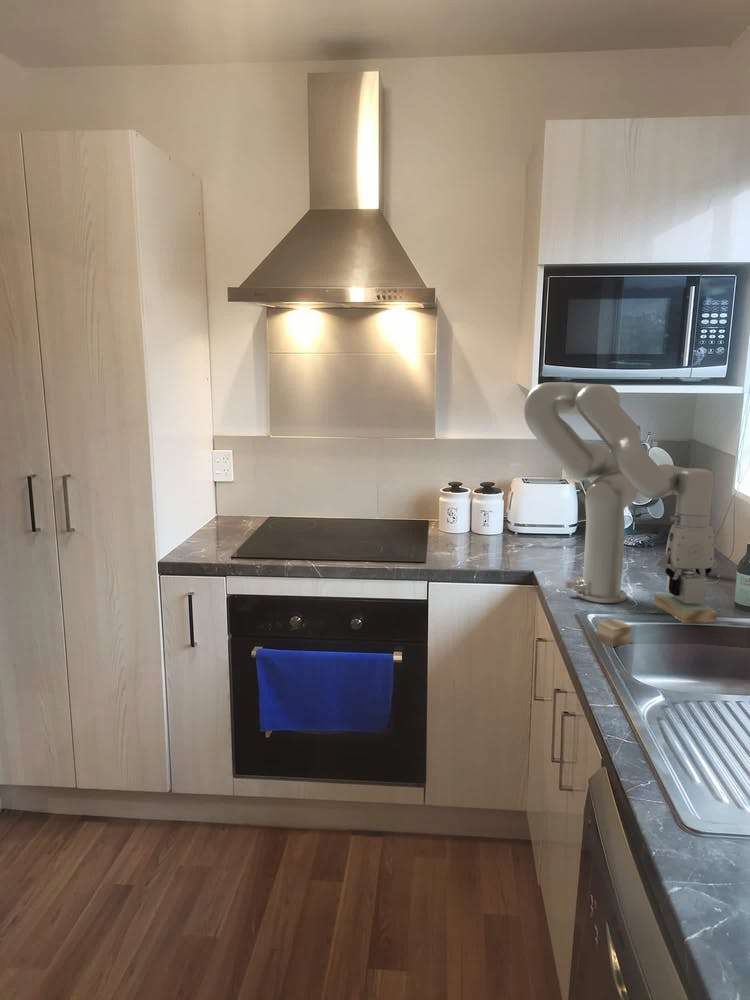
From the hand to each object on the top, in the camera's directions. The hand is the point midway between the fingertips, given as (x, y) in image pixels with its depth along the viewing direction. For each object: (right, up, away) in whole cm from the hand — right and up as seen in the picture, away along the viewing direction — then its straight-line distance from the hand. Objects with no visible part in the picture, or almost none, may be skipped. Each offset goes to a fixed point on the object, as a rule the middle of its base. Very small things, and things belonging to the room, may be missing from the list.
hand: (685, 593), depth 173 cm
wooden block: (0, -5, +1) cm, 5 cm away
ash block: (-23, -8, -17) cm, 30 cm away
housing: (0, -1, 0) cm, 1 cm away
